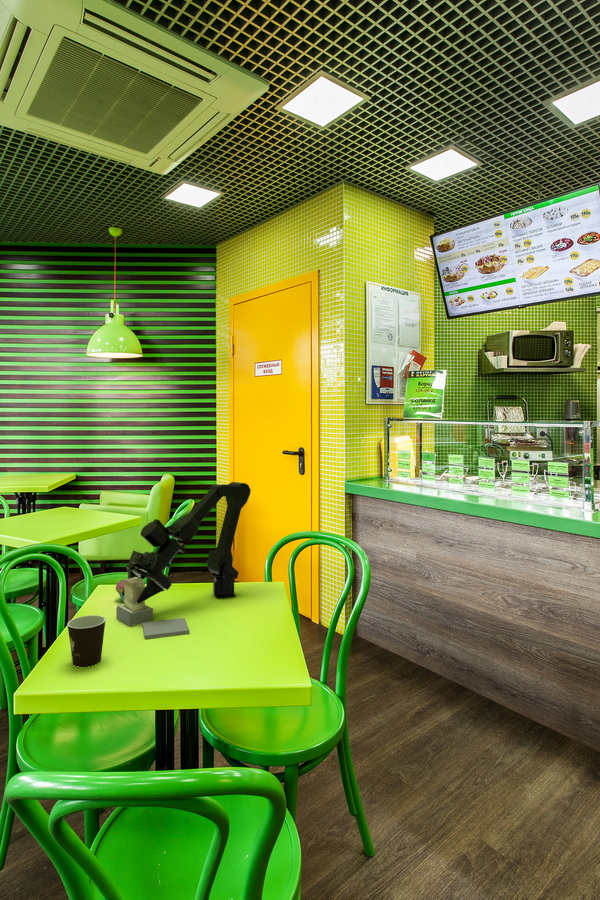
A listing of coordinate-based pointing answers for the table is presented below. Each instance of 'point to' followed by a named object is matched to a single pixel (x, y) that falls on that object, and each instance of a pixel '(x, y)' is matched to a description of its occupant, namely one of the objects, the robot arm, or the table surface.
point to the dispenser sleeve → (134, 615)
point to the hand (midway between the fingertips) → (130, 598)
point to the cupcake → (120, 589)
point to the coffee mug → (86, 639)
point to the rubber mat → (165, 628)
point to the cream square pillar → (133, 593)
